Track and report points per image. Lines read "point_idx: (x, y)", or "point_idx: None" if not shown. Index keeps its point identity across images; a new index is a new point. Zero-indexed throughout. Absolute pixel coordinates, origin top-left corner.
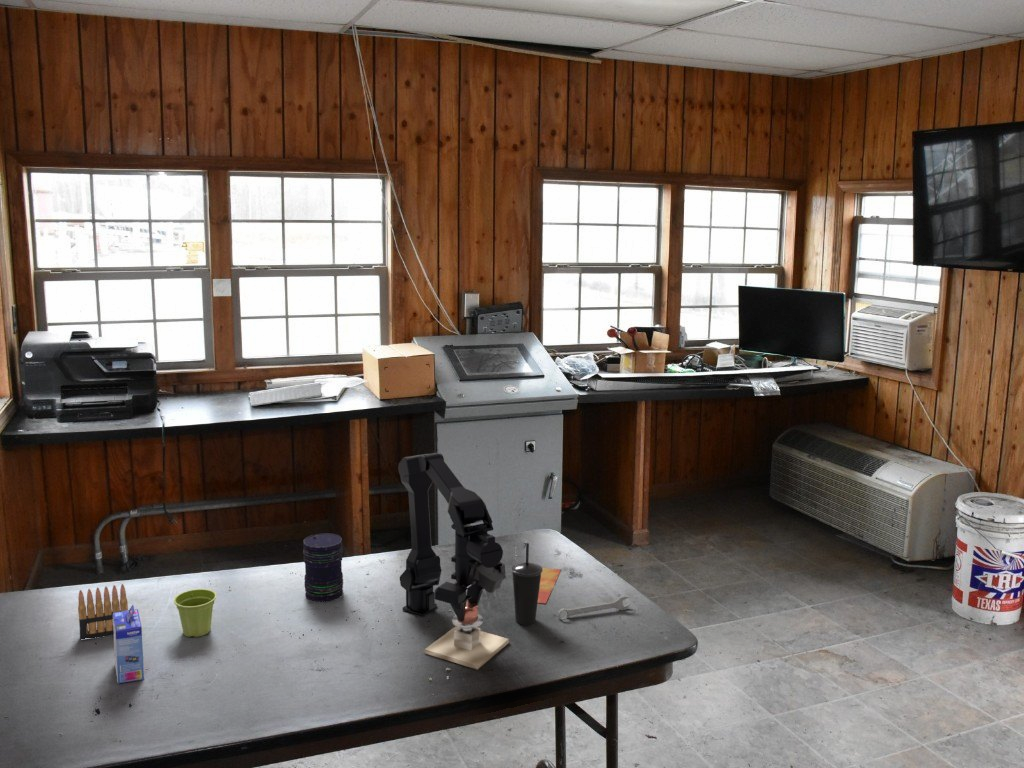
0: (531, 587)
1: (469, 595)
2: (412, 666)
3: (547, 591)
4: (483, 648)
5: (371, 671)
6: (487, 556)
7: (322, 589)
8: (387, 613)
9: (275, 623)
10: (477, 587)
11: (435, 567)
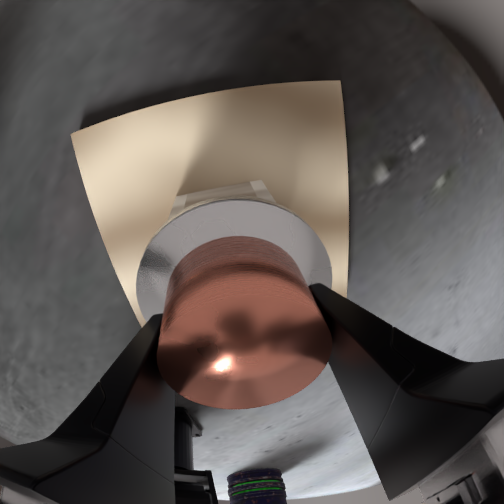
0: None
1: (165, 437)
2: (410, 262)
3: None
4: (208, 148)
5: (447, 303)
6: None
7: (278, 485)
8: (232, 435)
9: (355, 450)
10: (114, 490)
11: None
